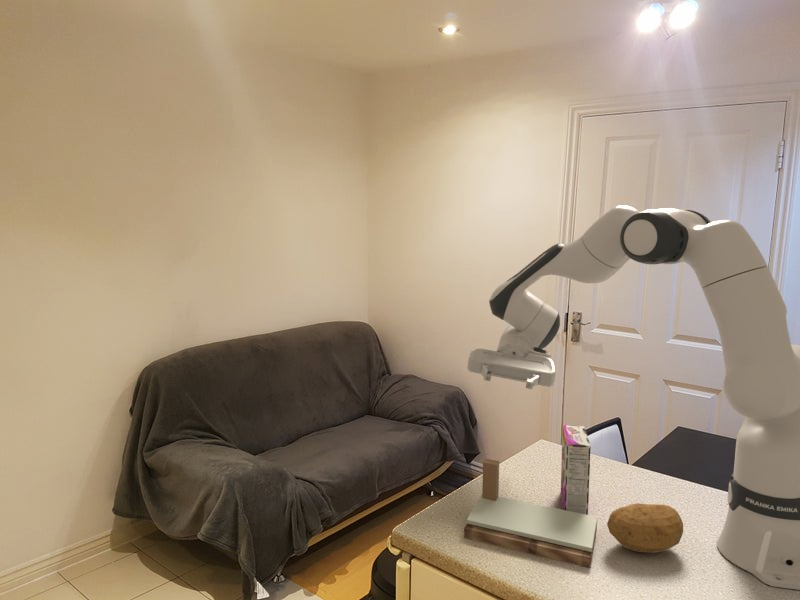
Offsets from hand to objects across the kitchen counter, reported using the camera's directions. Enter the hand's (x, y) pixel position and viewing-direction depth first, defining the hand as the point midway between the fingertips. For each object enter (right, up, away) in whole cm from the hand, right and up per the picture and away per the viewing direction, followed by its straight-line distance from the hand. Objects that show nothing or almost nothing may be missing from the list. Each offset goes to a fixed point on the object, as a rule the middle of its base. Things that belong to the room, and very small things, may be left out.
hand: (508, 381), depth 123 cm
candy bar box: (+13, -27, -4) cm, 30 cm away
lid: (+2, -26, -14) cm, 29 cm away
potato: (+22, -29, -19) cm, 41 cm away
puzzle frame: (+2, -28, -14) cm, 32 cm away
